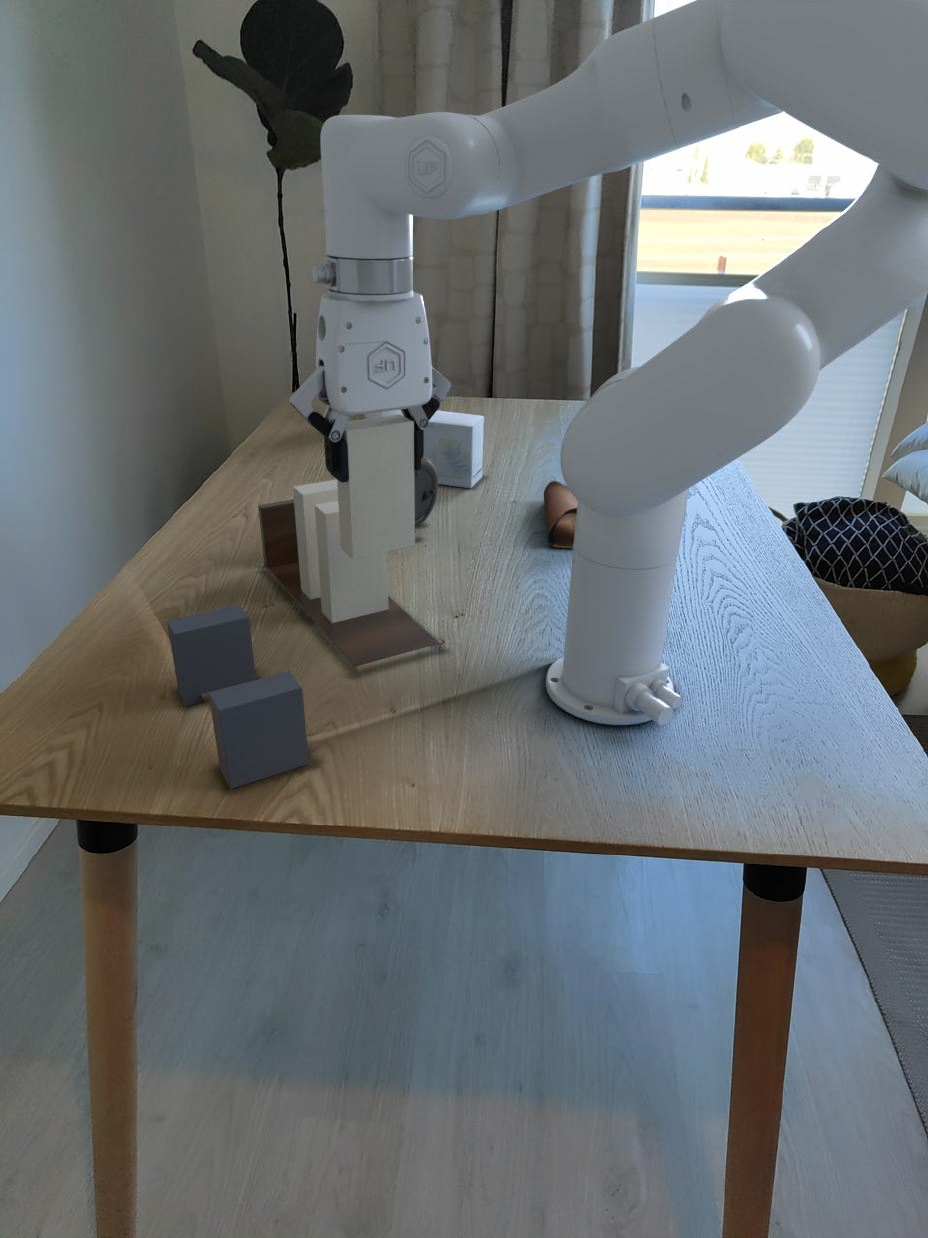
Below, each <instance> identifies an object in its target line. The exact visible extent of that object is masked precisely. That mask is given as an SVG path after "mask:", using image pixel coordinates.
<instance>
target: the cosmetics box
mask: <svg viewBox="0 0 928 1238" xmlns="http://www.w3.org/2000/svg"><path fill="white" fill-rule="evenodd" d="M484 424H485V416H484V415H479V414H469V413H463V412H453V411H447V410H445V411H444V410H437V411H436V412H435V414H434V415H433V416H432V418H431V419H430V420H429V426H428V427H427V428H426V429H425V430H424V457H426V458H427V459H429V460H430V461H431V462H432V464H433V465H434V467H435V469H436V472H437V476H438V485H443V486H450V487H456V488H464V489H472V488H473V487H474V486H475V485H476V484H477V483H478V482H479V481H480V480H481V479H482V478H483V454H484V451H483V450H484Z"/></svg>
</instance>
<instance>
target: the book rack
mask: <svg viewBox="0 0 928 1238" xmlns="http://www.w3.org/2000/svg"><path fill="white" fill-rule="evenodd" d="M257 507H258V509H257V510H258V516H259V526H260V536H261V537H260V538H261V546H262V556H263V565H264V567H265V568H266V569H267V570H268V571H269V572H270V573H271V575H273V577H274V578H275V579H276V580H277V581H278V582H279V584H281V586H282V587H284V589H285V590H286V591H287V592H288V594H289V595H290V596H291V597H292V598H293V599H294V601H296V603H297V604H298V605H299V606H300V607H301V608H302V609H303V610H304V612H306V614H307V615H308V616H309V617H310V618H311V620H312V621H313V622H314V623H315V624H316V625H317V626H318V627H319V628H320V629H321V630H322V632H323V633H324V634H325V635H326V636H327V637H328V639H330V641H331V642H332V643H333V644H334V645H335V646H336V647H337V649H338V650H339V651H340V652H341V653H342V654H343V655H344V657H346V659H347V661H349V662H350V663H351V664H352V666H353V667H358V666H363V665H366V664H370V663H373V662H378V661H381V660H384V659H387V658H391V657H395V656H399V655H403V654H406V653H410V652H413V651H417V650H420V649H424V648H428V647H431V646H436V645H438V644H440V641H439V640H438V639H436V638H435V637H434V636H433V634H432V633H430V632H428V630H427V629H426V628H425V627H423V626H422V625H421V624H420V623H419V622H418V621H417V620H415V619H414V618H413V617H412V616H411V615H410V614H409V613H408V612H406V610H405V609H403V608H402V607H401V606H400V605H399V604H397V602H396V601H394V600H393V598H392V597H390V596H389V595H388V607H389V609H388V610H384V611H380V612H376V613H372V614H368V615H364V616H360V617H356V618H352V619H348V620H344V621H340V622H336V623H331V622H330V621H329V619H328V618H327V617H326V616H325V615H324V614H323V613H322V607H321V597H320V598H316V599H312V600H310V599H309V598H308V597H307V596H306V594H305V593H304V592H303V591H302V590H301V581H300V569H299V556H298V544H297V531H296V519H295V507H294V498H292V499H287V500H280V501H275V502H269V503H263V504H258V506H257Z"/></svg>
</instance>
